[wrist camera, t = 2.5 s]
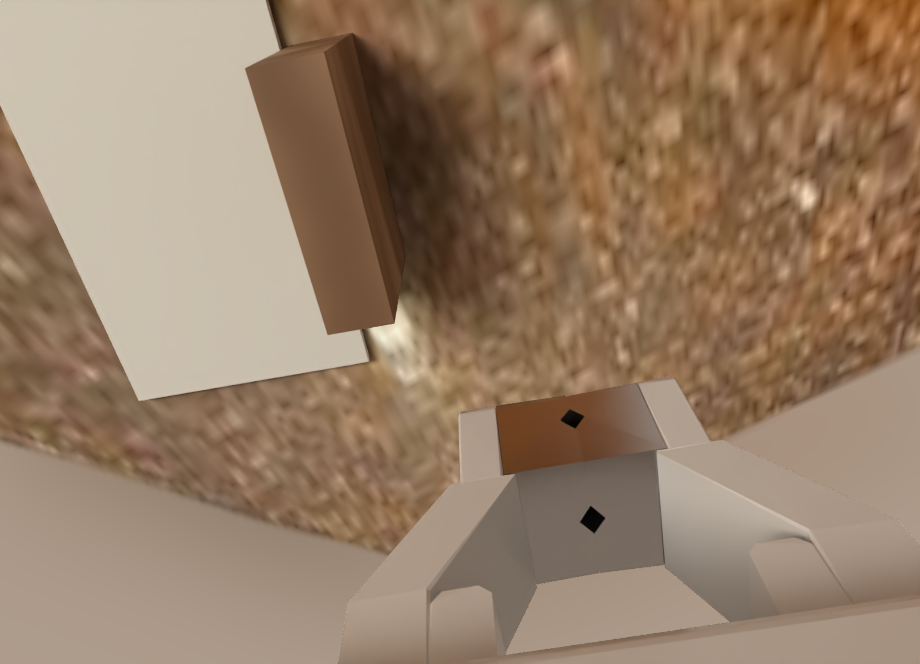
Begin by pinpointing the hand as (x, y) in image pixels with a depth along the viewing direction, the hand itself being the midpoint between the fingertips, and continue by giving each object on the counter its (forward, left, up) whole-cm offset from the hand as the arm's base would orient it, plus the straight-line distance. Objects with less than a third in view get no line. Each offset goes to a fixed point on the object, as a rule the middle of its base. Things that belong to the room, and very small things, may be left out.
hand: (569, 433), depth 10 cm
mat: (+13, 0, -20) cm, 24 cm away
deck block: (+6, 0, -20) cm, 21 cm away
